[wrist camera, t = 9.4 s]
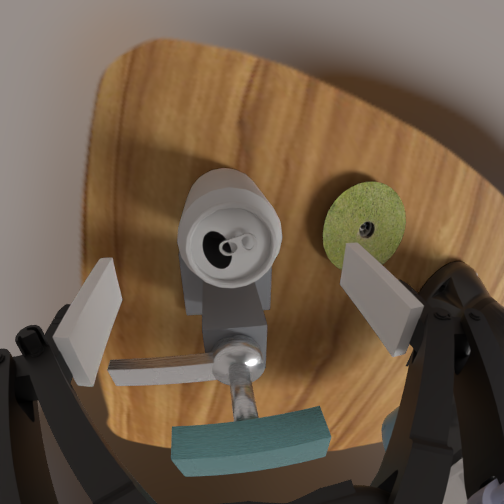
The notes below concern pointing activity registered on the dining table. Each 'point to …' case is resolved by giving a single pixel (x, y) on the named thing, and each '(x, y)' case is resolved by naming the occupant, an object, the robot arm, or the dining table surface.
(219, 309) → the grey pedestal post
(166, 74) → the dining table surface
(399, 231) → the mat
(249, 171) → the dining table surface
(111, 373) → the teal grip latch lever
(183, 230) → the can
